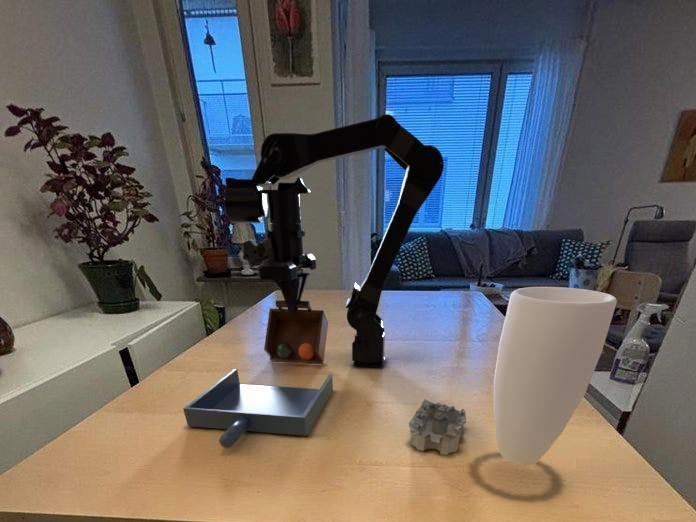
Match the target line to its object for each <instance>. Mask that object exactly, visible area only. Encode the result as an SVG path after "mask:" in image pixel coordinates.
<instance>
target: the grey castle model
mask: <svg viewBox="0 0 696 522" xmlns="http://www.w3.org/2000/svg"><path fill="white" fill-rule="evenodd" d="M466 414H467V413H466V410H465V409H464V408H462V409H461V410H458V409H456V408H455V406H454V405H450V406H448V405H447V404H441V403H440V402H436V403H434V402H431V401H430V400H428V399H423V401H422V402H421V404H420V405H419V408H418V409H417V410H416V411H415V413H414V415H413V416H412V418H411V420H409V422H408V426H409V430H410V434H411V436H410V445H411V446H413V447H415V448H416V450H418V451H420V452H424V451H425V450H430V449H431V450H436V451H438V452H439V453H440V454H441V455H445V456H447V455H449V454H450V453H456V452H458V448H459V445H460V439H461V436H462V432H463V428H464V426H465V425H466V424H467V415H466Z"/></svg>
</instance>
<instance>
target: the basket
mask: <svg viewBox="0 0 696 522" xmlns="http://www.w3.org/2000/svg"><path fill="white" fill-rule="evenodd" d="M275 307H276V308H270V307H269V310H268V319H267V326H266V332H265V339H264V347H263V351H264V352H265V353H266V354H267V355H268V356H269V361H270V362H271V363H284V364H285V363H286V364H302V365H306V364H307V365H319V366H324V360H325V352H326V346H327V345H326V343H327V335H328V329H329V320H328V318H327V315H326V313H325V311H324V309H320V310H319V309H312V307H311V302H310V300H301V301H297V306H296V308H298V310H297V311H296V312H295V313H289V311H288V308H287V305H286V302H285V300H284V299H275ZM282 342H286V343H288V344H289V345H290V346H291V348H292V354H291V356H290V357H288V358H281V357H280V356H279V355H278V354H277V351H276V349H277V346H278V344H280V343H282ZM304 343H308V344H310V345H311V346H312V347H313V349H314V355H313V357H312V358H310V359H308V360H305V359H303V358H301V357H300V355H299V352H298V350H299V347H300V346H301V345H302V344H304Z"/></svg>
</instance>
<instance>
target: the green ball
mask: <svg viewBox="0 0 696 522" xmlns="http://www.w3.org/2000/svg"><path fill="white" fill-rule="evenodd" d="M276 351H277V354H278V355H279V356H280V357H281V358H288V357H290V356H291V354H292V348H291V346H290V345H289V344H288V343H286V342H282V343H280V344H278V346H277V349H276Z"/></svg>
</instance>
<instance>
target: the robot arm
mask: <svg viewBox="0 0 696 522" xmlns="http://www.w3.org/2000/svg"><path fill="white" fill-rule="evenodd" d="M380 149H382V150H384V152H386V153H387V154H388V156H389V157H391V159H393V161H395V163H396V164H397V165H398V166H399V167H400V168H401V169H403V171H405V173H404V175H403V180H402V184H401V188H400V193H399V197H398V200H397V205H396V207H395V209H394V212H393V214H392V216H391V219H390V220H389V223H388V226H387V228H386V230H385V233H384V235H383V237H382V240H381V242H380V243H379V247H378V249H377V251H376V254H375V256H374V258H373V261H372V263H371V266H370V268H369V270H368V272H367V275H366V276H365V279H364V280H363V282H362V283H361V285H358V284H357V283H356V282H355V283H354V284H353V287H352V291H351V295H350V296H349V298H348V299H347V300H346V304H345V309H347V311H346V320H347V323H348V325H349V326H350V327H351V328H352V329H353V330H355V331H356V333H355V335H354V339H353V341H352V344H351V357H352V358H351V360H352V362H353V363H352V366H353V367H361V368H379V369H381V368H383V366H384V363H385V361H386V356H385V348H386V347H385V346H386V345H385V344H386V333H385V326H384V320H383V319H382V318H381V317H380V316H379V315H378V314H377V312H378V308H379V304H380V300H381V297H382V291H383V287H384V285H385V283H386V281H387V279H388V277H389V275H390V273H391V271H392V268H393V265H394V263H395V261H396V259H397V257H398V255H399V252H400V251H401V248H402V246H403V243H404V241H405V240H406V237H407V235H408V232H409V230H410V228H411V226H412V223H413V221H414V219H415V217H416V215H417V213H418V212H419V210H420V209H421V208H422V206H423V205H424V203H425V202H426V200H427V199H428V198H429V196H430V194H431V193H432V191H433V190H434V189H435V187H436V185H437V184H438V182H439V181H440V180H441V178H442V176H443V172H444V168H445V163H444V157H443V155H442V153H441V151H440V150H439V149H438V148H437V147H436V146H434V145H431V144H426V145H425V144H424V143H423V142H422V141H420V140H419V138H417V136H415V135H414V134H412V133H411V132H410V131H409V130H407V129H406V128H404V127H403V126H402V125H401V124H400V123H399V122H398V121H397V119H396V118H395V117H394V116H393V115H391V114H390V113H389V114H387V113H386V114H381V115H380V116H379V117H376V118H372V119H368V120H364V121H360V122H356V123H351V124H349V125H343V126H341V127H340V126H339V127H336V128H331V129H327V130H323V131H319V132H316V133H297V132H296V133H295V132H279V133H278V132H277V133H276V132H275V133H271V134H269V135H267V136H266V137H265V138H264V140H263V142H262V145H261V149H260V161H259V163H258V165H257V167H256V169H255V171H254V173H253V176H252V177H251V178H250V179H249V178H235V177H225V178H224V179H225V188H224V199H223V202H224V208H225V212H226V216H227V218H228V221H229V222H230V224H262V223H263V222H264V221H263V220H264V218H267V217H268V214H269V222H270V230H267V232H266V240H264V241H260V242H256V241H255V240H254V239H248V240H246V241H244V242H242V247H243V248H242V251H241V252H242V259H243V260H244V261H247V263H248V265H249V267H250V268H251V269H252V268H254V267H257V272H258V279H259V280H262V281H263V280H264V281H265V280H266V281H271V282H274V283H275V284H276V285H277V286H278V287H279V289H280V291H281V294H282V297H283V300H285V302H286V305H287V308H286V309H288V311H289V313H295V312H296V311H297V310H299V308H296V306H297V301H302V298H303V295H304V292H305V289H306V285H307V282H308V279H309V277H310V275H311V273H310V272H304V269H309V270H310V271H314V270H316V269H317V259H316V257H315V256H314V255H313V254H312V253H304V245H303V237H305V236H306V230H305V229H302V216H301V215H302V213H301V199H300V195H310V193H311V190H310V189H309V188H308V187H307V186H306V185H305V183H304V182H303V179H302V178H301V177H299V176H298V175H300V174H302V173H304V172H306V171H307V170H309V169H311V168H312V167H315V166H316V165H319V164H321V163H325V162H330V161H333V160H337V159H341V158H342V159H343V158H346V157H349V156H354V155H358V154H363V153H367V152H371V151H375V150H380ZM296 176H298V177H297V178H296V180H295V181H294V182H279V181H280V180H289V179H292V178H293V177H296ZM276 184H277V189H263V187H273V186H274V185H276ZM268 212H269V213H268Z"/></svg>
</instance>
